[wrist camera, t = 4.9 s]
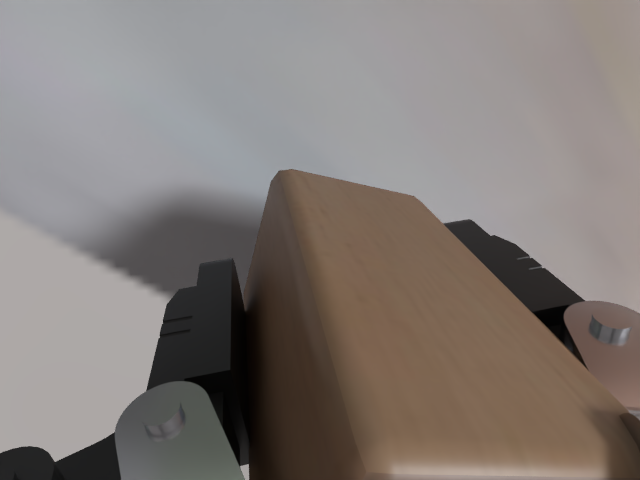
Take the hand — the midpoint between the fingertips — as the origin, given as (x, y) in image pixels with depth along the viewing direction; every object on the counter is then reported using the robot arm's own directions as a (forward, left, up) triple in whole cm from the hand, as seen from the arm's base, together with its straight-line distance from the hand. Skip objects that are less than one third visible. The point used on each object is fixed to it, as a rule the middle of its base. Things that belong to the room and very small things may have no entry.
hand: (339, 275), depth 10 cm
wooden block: (0, 0, -2) cm, 2 cm away
